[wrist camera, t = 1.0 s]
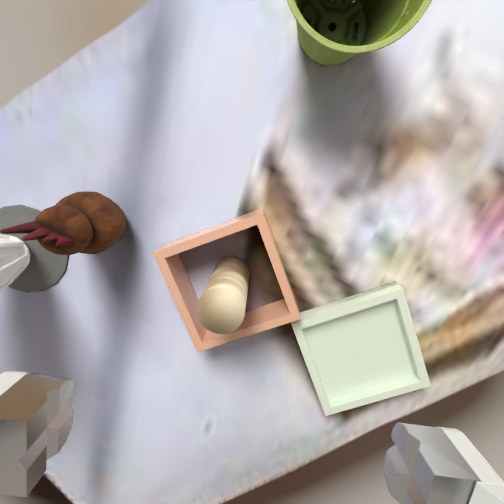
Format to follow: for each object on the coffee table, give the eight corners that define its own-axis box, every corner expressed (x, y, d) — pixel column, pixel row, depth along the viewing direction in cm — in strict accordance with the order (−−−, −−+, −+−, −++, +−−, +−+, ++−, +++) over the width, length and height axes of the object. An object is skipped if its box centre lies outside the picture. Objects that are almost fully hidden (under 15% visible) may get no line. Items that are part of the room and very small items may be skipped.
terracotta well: (262, 207, 40) (262, 212, 35) (297, 302, 43) (301, 318, 38) (165, 243, 42) (152, 252, 37) (204, 332, 44) (197, 352, 40)
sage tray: (394, 281, 42) (403, 288, 39) (421, 374, 45) (430, 385, 42) (289, 315, 43) (291, 324, 41) (322, 403, 46) (325, 416, 44)
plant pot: (401, 61, 36) (461, 13, 25) (298, 105, 37) (312, 77, 27) (369, -58, 34) (420, -169, 23) (260, -6, 35) (258, -88, 24)
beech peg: (242, 251, 42) (234, 282, 30) (254, 283, 43) (251, 325, 31) (209, 263, 42) (188, 297, 31) (222, 294, 43) (207, 339, 31)
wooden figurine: (72, 212, 41) (-32, 234, 27) (103, 181, 40) (12, 186, 26) (111, 252, 42) (32, 294, 28) (143, 222, 41) (77, 250, 27)
